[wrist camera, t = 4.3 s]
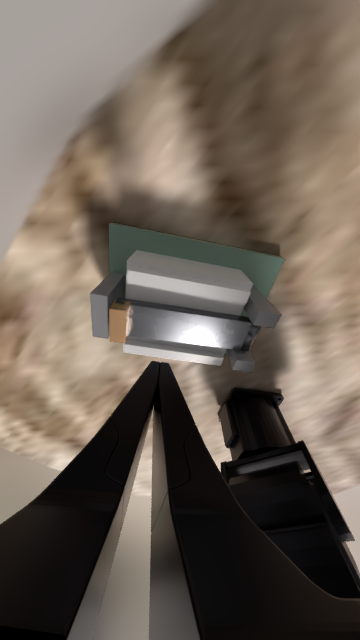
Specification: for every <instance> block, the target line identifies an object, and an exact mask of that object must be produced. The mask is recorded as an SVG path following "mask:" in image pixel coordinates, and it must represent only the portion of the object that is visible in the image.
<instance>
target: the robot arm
mask: <svg viewBox="0 0 360 640" xmlns="http://www.w3.org/2000/svg"><path fill="white" fill-rule="evenodd" d="M283 399H284V398H283V396H282V394H278V393H270V392H262V391H254V390H247V389H239V388H235V389H232V391H231V393H230V395H229V397H228V399H227V401H226V402H225V403H224V405H223V408H222V410H221V412H220V414H219V421H220V422H221V425H222V431H223V436H224V442H225V446H226V447H227V448H230V451H231V456H232V461H229V462H226V461H225V462H221V473H220V471H219V469H218V467H217V466H216V464H215V462H214V461H213V459H212V457H211V455H210V453H209V451H208V449H207V448H206V446H205V444H204V441H203V439H202V437H201V435H200V433H199V431H198V428H197V426H196V425H195V422H194V419H193V417H192V415H191V413H190V410H189V408H188V406H187V404H186V401H185V399H184V397H183V394H182V392H181V390H180V388H179V385H178V383H177V381H176V378H175V376H174V374H173V372H172V369H171V367H170V365H169V363H164V362H161V363H160V362H156V361H152V362H151V363H150V364H149V365H148V367H147V368H146V369H145V371H144V372H143V373H142V375H141V376H140V377H139V379H138V380H137V381H136V383H135V384H134V385H133V387H132V388H131V389H130V391H129V392H128V393H127V394H126V396H125V397H124V398H123V400H122V401H121V402H120V404H119V405H118V406H117V408H116V409H115V410H114V412H113V413H112V414H111V416H110V417H109V418H108V420H107V421H106V422H105V424H104V425H103V426H102V427H101V429H100V430H99V431H98V432H97V434H96V435H95V436H94V437H93V438H92V439H91V441H90V442H89V443H88V444H87V445H86V446H85V447H84V448H83V449H82V451H81V452H80V453H79V454H78V455H77V456H76V457H75V458H74V459H73V460H72V461H71V462H70V463H69V464H68V466H67V467H66V468H65V469H64V470H63V471H62V472H61V473H60V474H59V475H58V476H57V477H56V478H55V479H54V481H53V482H52V483H51V484H50V485H49V486H48V487H47V488H46V489H45V490H44V491H43V492H42V493H41V494H40V495H38V496H37V497H36V498H35V499H34V500H33V501H32V502H30V503H29V504H28V505H27V506H25V507H24V508H23V509H21V510H20V511H18V512H17V513H16V514H14V515H13V516H12V517H10V518H9V519H7V520H6V521H4V522H3V523H1V524H0V640H92V639H93V635H94V631H95V628H96V624H97V620H98V616H99V612H100V609H101V605H102V601H103V597H104V594H105V590H106V586H107V582H108V578H109V575H110V571H111V567H112V563H113V559H114V556H115V551H116V548H117V544H118V540H119V537H120V531H121V529H122V525H123V521H124V517H125V514H126V510H127V506H128V502H129V499H130V495H131V491H132V487H133V483H134V480H135V476H136V472H137V468H138V464H139V461H140V457H141V453H142V449H143V445H144V442H145V438H146V434H147V430H148V426H149V423H150V419H151V415H152V411H153V455H152V508H151V510H152V511H151V533H152V534H151V559H150V560H151V561H150V564H151V565H150V613H149V614H150V615H149V640H360V573H359V570H358V568H357V565H356V563H355V561H354V558H353V556H352V554H351V552H350V551H349V548H348V546H347V544H346V542H345V541H355V539H354V537H353V535H352V533H351V531H350V530H349V527H348V525H347V523H346V521H345V519H344V518H343V515H342V513H341V512H340V509H339V507H338V505H337V503H336V501H335V499H334V498H333V496H332V494H331V492H330V490H329V488H328V486H327V484H326V482H325V480H324V478H323V476H322V474H321V472H320V470H319V469H318V467H317V465H316V463H315V461H314V459H313V457H312V456H311V454H310V452H309V450H308V448H307V447H306V445H305V443H304V441H303V440H302V441H298V443H296V442H295V440H294V438H293V436H292V434H291V432H290V430H289V428H288V426H287V424H286V422H285V420H284V417H283V415H282V413H281V411H280V409H279V407H278V406H279V405H280V404H281V402H282V401H283ZM153 406H154V409H153ZM308 469H310V470H311V472H308V473H304V471H303V470H308Z"/></svg>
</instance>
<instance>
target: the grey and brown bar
mask: <svg viewBox="0 0 360 640" xmlns="http://www.w3.org/2000/svg"><path fill="white" fill-rule="evenodd" d="M109 325H110V342H118V343H126V340H127V337H128V336H132V337H140V338H148V339H156V340H164V341H172V342H179V343H187V344H195V345H203V346H211V347H219V348H227V349H235V350H242V351H245V352H248V351H250V349H251V347H252V345H253V343H254V341H255V339H256V337H257V335H258V332H259V330H260V328H261V326H257V325H253V323H252V322H251V320H250V319H249V317H246V316H239V315H232V314H226V313H219V312H212V311H206V310H199V309H192V308H186V307H179V306H172V305H166V304H159V303H152V302H146V301H139V300H132V299H126V298H119V297H118V298H117V300H114V302H113V304H112V305H111V307H110V309H109Z"/></svg>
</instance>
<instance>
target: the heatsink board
mask: <svg viewBox="0 0 360 640" xmlns="http://www.w3.org/2000/svg"><path fill="white" fill-rule="evenodd" d="M284 260H285V259H284V258H283V257H281V256H276V255H271V254H266V253H261V252H256V251H251V250H247V249H242V248H237V247H232V246H227V245H222V244H217V243H212V242H207V241H202V240H197V239H192V238H187V237H182V236H177V235H172V234H167V233H162V232H157V231H152V230H147V229H142V228H138V227H133V226H128V225H123V224H118V223H113V222H112V223H109V275H108V276H107V277H106V278H105V279H104V280H103V281H102V282H101V283H100V284H99V285H98V286H97V287H96V288H95V289H94V290H93V291H92V292H91V293H90V300H91V316H92V331H93V337H100V338H107V339H108V338H109V336H110V325H109V309H110V307H111V305H112V304H113V302H114V300H117V298H118V297H119V298H126V299H132V300H139V301H146V302H152V303H159V304H166V305H172V306H179V307H186V308H192V309H199V310H206V311H212V312H219V313H226V314H232V315H239V316H246V317H249V319H250V320H251V322H252V323H253V325H257V326H263V327H269V328H275V326H276V324H277V322H278V321H279V319H280V317H281V314H280V313H279V312H278V310H277V309H276V308H275V307H274V306H273V305H272V304H271V303H270V302H269V301H268V300H267V297H268V295H269V292H270V290H271V288H272V286H273V284H274V282H275V279H276V277H277V275H278V273H279V271H280V269H281V266H282V264H283V262H284ZM123 351H124V353H131V354H138V355H145V356H153V357H160V358H167V359H174V360H181V361H188V362H196V363H203V364H210V365H217V366H221V364H222V362H223V359H224V355H228V357H229V360H230V363H231V366H232V370H236V371H244V372H251V371H252V369H253V367H254V365H255V364H256V362H255V360H254V358H253V355H252V353H251V351H248V352H245V351H242V350H235V349H227V348H219V347H211V346H203V345H195V344H187V343H179V342H172V341H164V340H156V339H148V338H140V337H132V336H128V337H127V340H126V343H124V347H123Z"/></svg>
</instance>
